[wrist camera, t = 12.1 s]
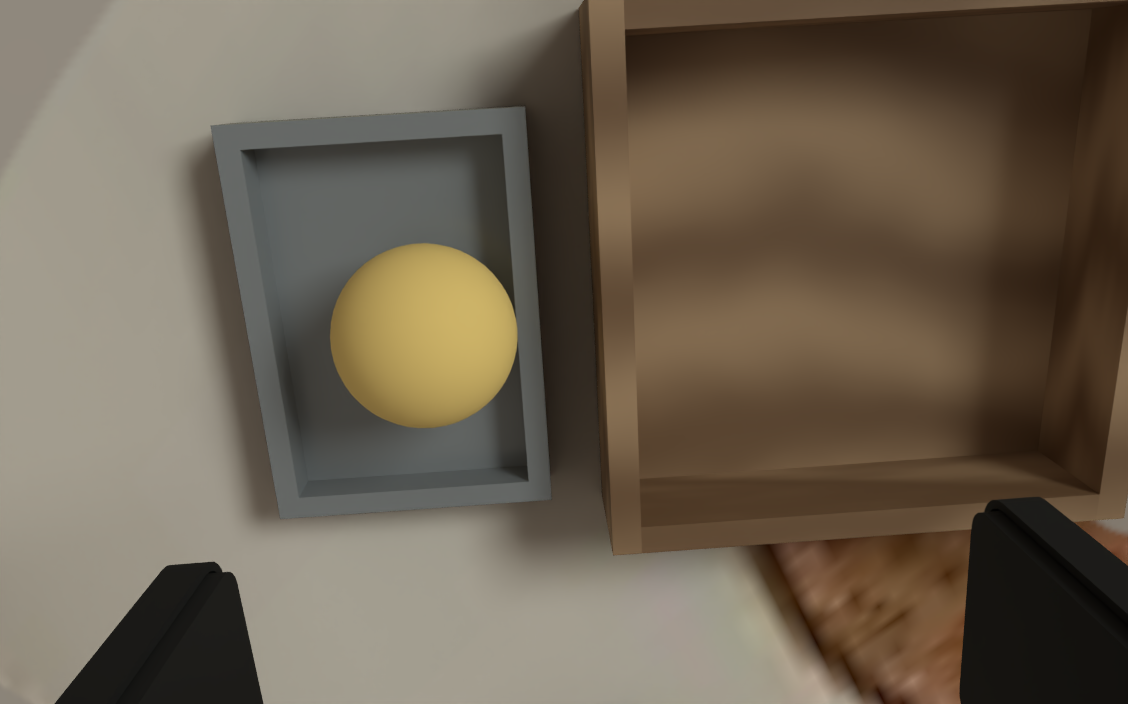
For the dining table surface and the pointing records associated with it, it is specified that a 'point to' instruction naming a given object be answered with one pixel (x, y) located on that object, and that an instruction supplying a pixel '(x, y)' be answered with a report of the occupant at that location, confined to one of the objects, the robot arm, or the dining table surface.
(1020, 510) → the robot arm
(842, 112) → the walnut box
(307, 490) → the dish
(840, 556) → the dining table surface
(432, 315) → the ball
